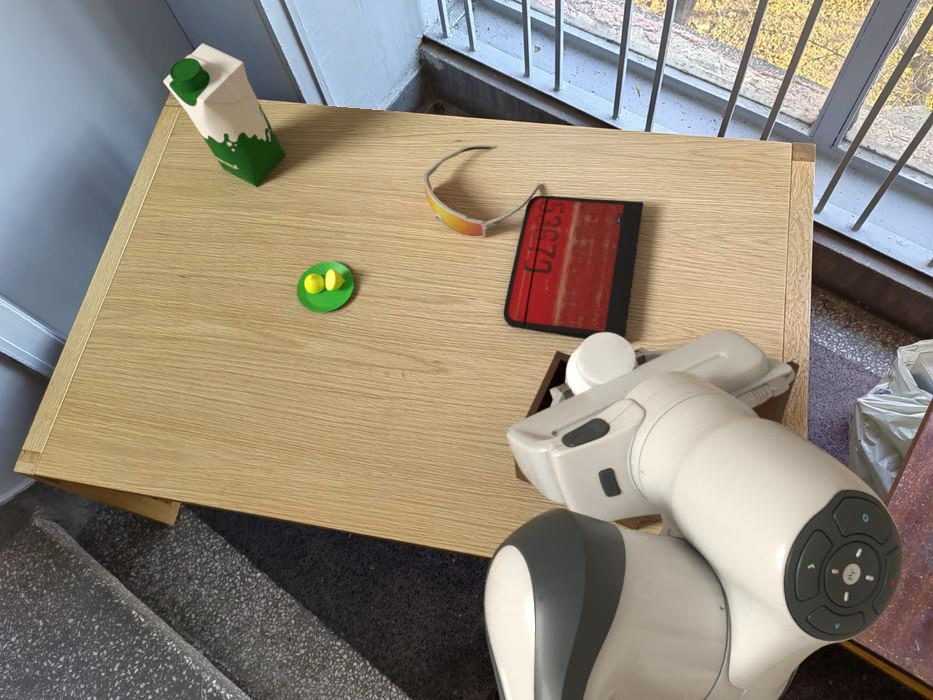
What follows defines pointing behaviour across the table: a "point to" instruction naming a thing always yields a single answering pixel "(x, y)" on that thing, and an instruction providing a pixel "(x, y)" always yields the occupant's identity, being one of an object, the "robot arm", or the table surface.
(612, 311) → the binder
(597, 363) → the pill bottle
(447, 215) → the sunglasses
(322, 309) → the plate with lemons
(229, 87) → the soya milk
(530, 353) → the table surface
